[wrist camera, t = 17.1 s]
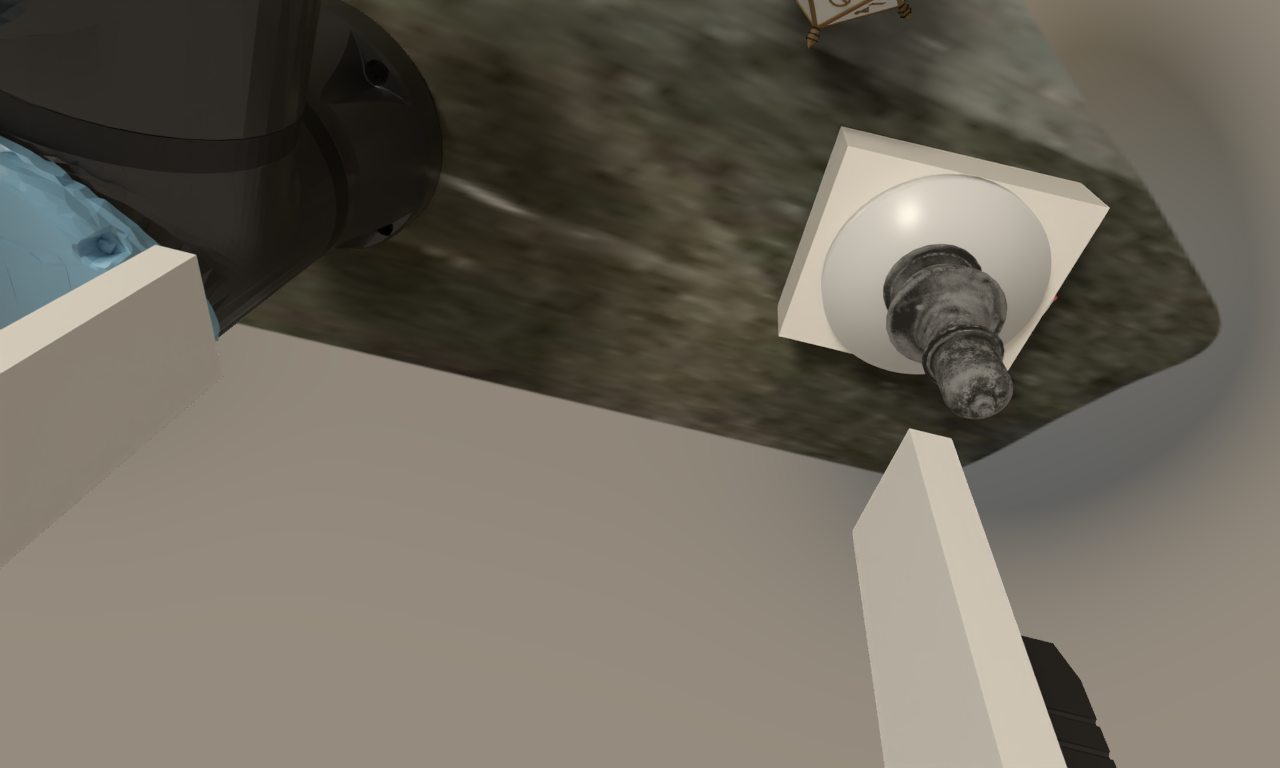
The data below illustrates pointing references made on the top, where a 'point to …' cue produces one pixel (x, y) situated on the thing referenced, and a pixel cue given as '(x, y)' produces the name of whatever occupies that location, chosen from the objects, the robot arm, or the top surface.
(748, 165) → the top surface
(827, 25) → the game die
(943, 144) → the top surface
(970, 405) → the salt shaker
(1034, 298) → the kitchen scale
